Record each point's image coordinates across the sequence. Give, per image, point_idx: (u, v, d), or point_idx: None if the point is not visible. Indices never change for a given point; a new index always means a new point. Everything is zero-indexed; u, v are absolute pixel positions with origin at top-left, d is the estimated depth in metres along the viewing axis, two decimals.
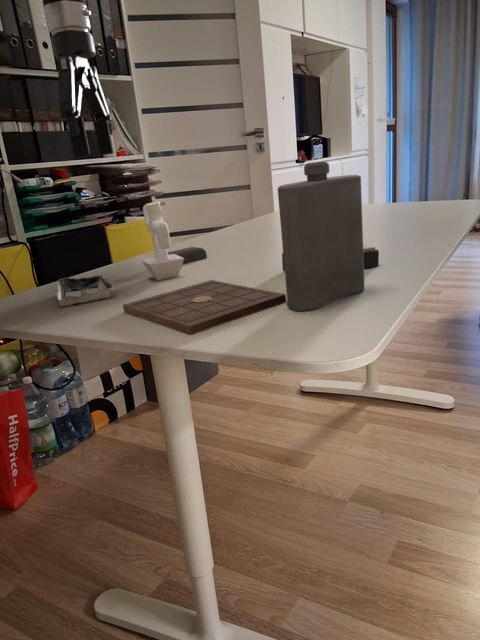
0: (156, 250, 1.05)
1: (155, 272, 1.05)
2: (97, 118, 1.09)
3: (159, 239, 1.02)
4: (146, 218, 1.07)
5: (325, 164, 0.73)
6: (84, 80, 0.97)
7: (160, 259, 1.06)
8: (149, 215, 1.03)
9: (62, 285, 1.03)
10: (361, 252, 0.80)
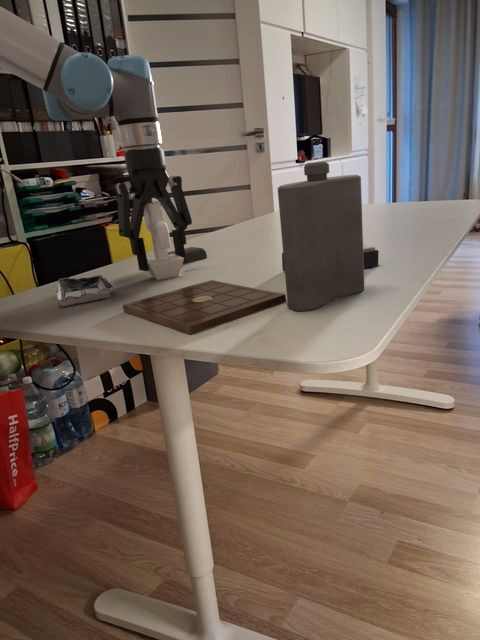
0: (156, 250, 1.05)
1: (155, 272, 1.05)
2: (175, 226, 1.08)
3: (159, 239, 1.02)
4: (146, 218, 1.07)
5: (325, 164, 0.73)
6: (145, 196, 1.00)
7: (160, 259, 1.06)
8: (149, 215, 1.03)
9: (62, 285, 1.03)
10: (361, 252, 0.80)
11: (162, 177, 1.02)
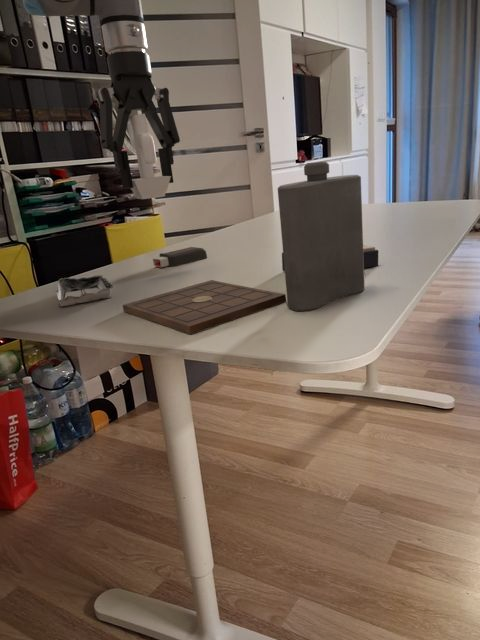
0: (141, 167, 0.99)
1: (140, 189, 0.98)
2: (162, 144, 1.02)
3: (144, 152, 0.95)
4: (131, 134, 1.01)
5: (325, 164, 0.73)
6: (129, 105, 0.94)
7: (145, 177, 1.00)
8: (134, 128, 0.97)
9: (62, 285, 1.03)
10: (361, 252, 0.80)
11: (148, 87, 0.96)
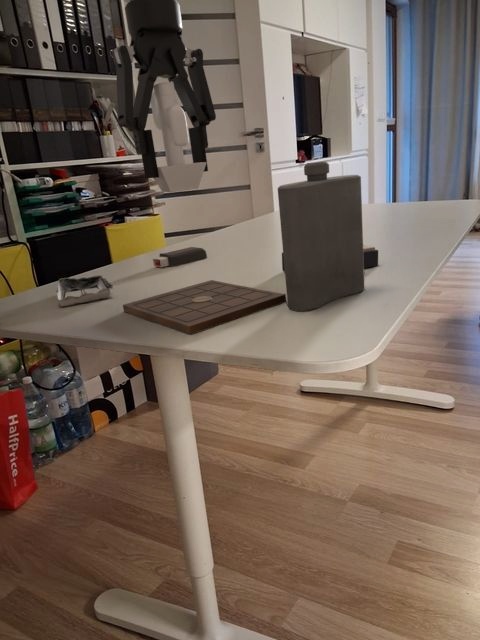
0: (168, 151, 0.78)
1: (167, 180, 0.77)
2: (193, 122, 0.81)
3: (173, 131, 0.74)
4: (154, 109, 0.79)
5: (325, 164, 0.73)
6: (155, 69, 0.72)
7: (174, 164, 0.78)
8: (159, 100, 0.75)
9: (62, 285, 1.03)
10: (361, 252, 0.80)
11: (177, 46, 0.74)
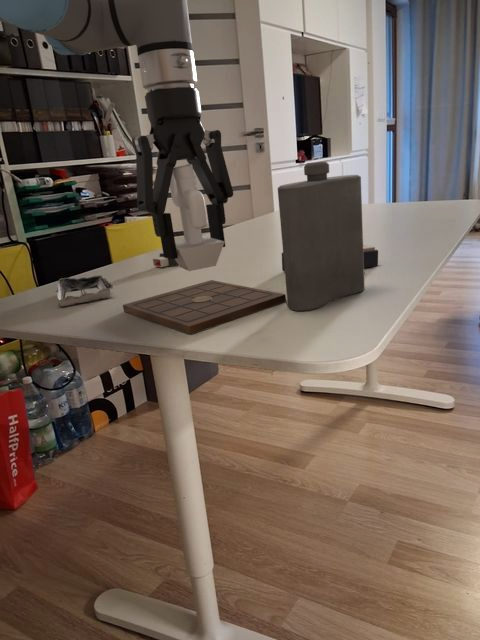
0: (186, 231, 0.78)
1: (186, 260, 0.77)
2: (211, 199, 0.81)
3: (192, 215, 0.74)
4: (173, 188, 0.79)
5: (325, 164, 0.73)
6: (174, 156, 0.73)
7: (192, 243, 0.79)
8: (178, 182, 0.76)
9: (62, 285, 1.03)
10: (361, 252, 0.80)
11: (196, 130, 0.75)
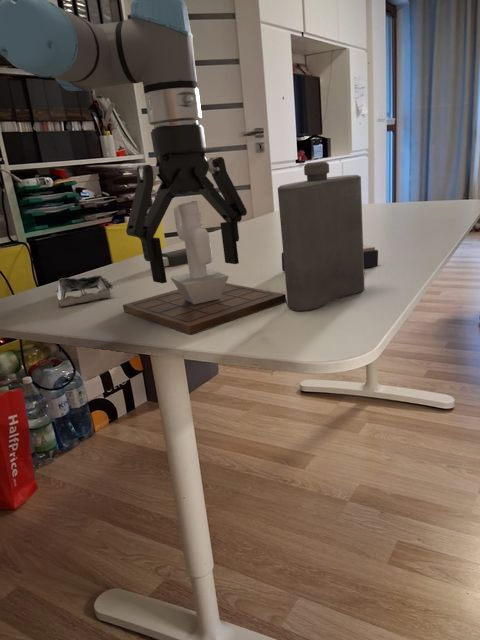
0: (191, 265, 0.80)
1: (191, 294, 0.79)
2: (225, 218, 0.84)
3: (198, 251, 0.76)
4: (178, 223, 0.81)
5: (325, 164, 0.73)
6: (175, 188, 0.74)
7: (197, 277, 0.81)
8: (184, 219, 0.78)
9: (62, 285, 1.03)
10: (361, 252, 0.80)
11: (200, 164, 0.77)
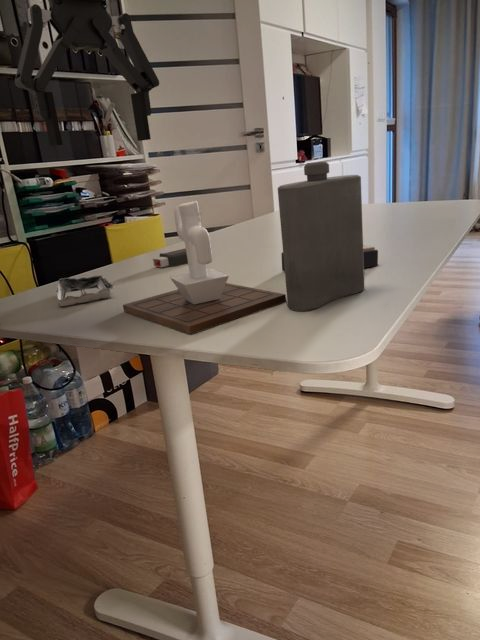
0: (191, 265, 0.80)
1: (191, 294, 0.79)
2: (136, 89, 0.78)
3: (198, 251, 0.76)
4: (178, 223, 0.81)
5: (325, 164, 0.73)
6: (70, 37, 0.68)
7: (197, 277, 0.81)
8: (184, 219, 0.78)
9: (62, 285, 1.03)
10: (361, 252, 0.80)
11: (101, 17, 0.71)
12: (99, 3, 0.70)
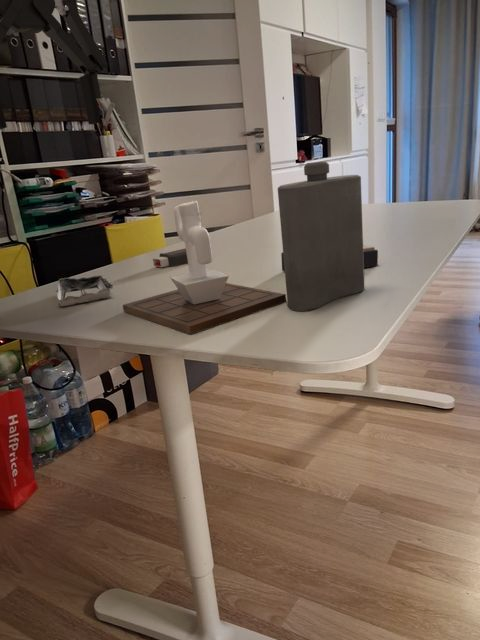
0: (191, 265, 0.80)
1: (191, 294, 0.79)
2: (84, 72, 0.77)
3: (198, 251, 0.76)
4: (178, 223, 0.81)
5: (325, 164, 0.73)
6: (9, 18, 0.68)
7: (197, 277, 0.81)
8: (184, 219, 0.78)
9: (62, 285, 1.03)
10: (361, 252, 0.80)
11: None
12: None
